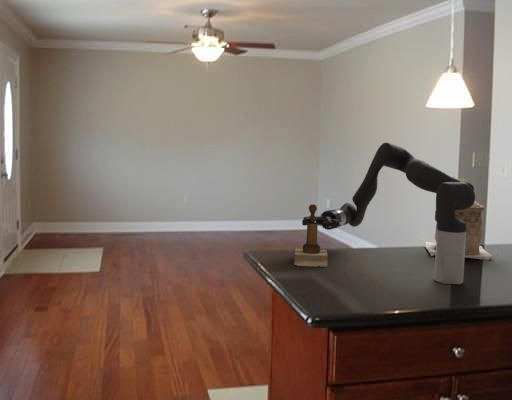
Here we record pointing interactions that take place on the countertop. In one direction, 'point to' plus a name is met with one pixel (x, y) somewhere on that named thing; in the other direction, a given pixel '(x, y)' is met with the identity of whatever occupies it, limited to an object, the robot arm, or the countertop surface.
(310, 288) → the countertop surface
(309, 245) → the mortar and pestle
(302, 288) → the countertop surface
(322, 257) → the plinth
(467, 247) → the brown stone tower
